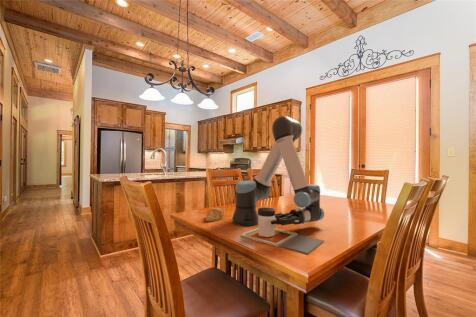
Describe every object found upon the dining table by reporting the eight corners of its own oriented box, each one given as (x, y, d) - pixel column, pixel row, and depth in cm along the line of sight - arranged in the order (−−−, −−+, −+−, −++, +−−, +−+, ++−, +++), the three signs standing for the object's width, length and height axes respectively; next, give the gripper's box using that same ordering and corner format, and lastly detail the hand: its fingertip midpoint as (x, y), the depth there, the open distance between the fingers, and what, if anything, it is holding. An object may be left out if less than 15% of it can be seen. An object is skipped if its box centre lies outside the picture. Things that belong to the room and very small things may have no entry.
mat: (279, 246, 94) (279, 245, 94) (298, 235, 108) (298, 234, 108) (308, 254, 87) (308, 253, 87) (324, 241, 101) (324, 240, 101)
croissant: (211, 229, 128) (217, 217, 127) (197, 219, 131) (203, 207, 130) (226, 219, 148) (231, 209, 147) (213, 211, 151) (218, 200, 150)
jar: (263, 238, 104) (263, 211, 104) (253, 233, 111) (253, 208, 111) (278, 235, 108) (279, 210, 108) (268, 230, 115) (268, 206, 116)
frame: (240, 236, 106) (240, 234, 106) (263, 227, 122) (263, 225, 122) (277, 246, 94) (277, 244, 94) (297, 234, 109) (297, 233, 109)
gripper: (311, 227, 110) (273, 235, 98) (288, 219, 124) (252, 225, 113) (311, 212, 110) (273, 217, 99) (288, 206, 124) (252, 210, 113)
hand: (262, 222), depth 106 cm, fingers open, 3 cm apart
